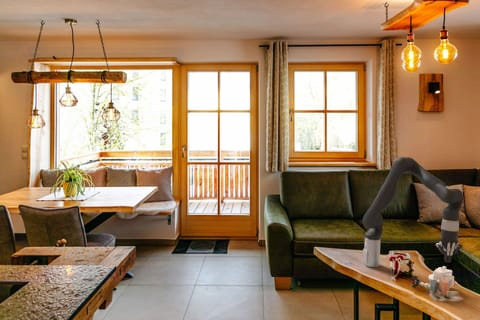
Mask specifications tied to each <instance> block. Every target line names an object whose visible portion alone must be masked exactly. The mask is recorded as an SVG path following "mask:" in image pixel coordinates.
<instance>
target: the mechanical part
mask: <svg viewBox="0 0 480 320" xmlns="http://www.w3.org/2000/svg"><path fill="white" fill-rule="evenodd" d="M428 280H429V281H430V280H436V281H438V282H439V280H447V281H448V282H449V283H450V288H449V290H450V289H452V288H453V287H454V283H455V276H454V275H453V270H452V269H447V266H444V265H443V266H442V267H441V266H440V267H439V266H438V268H435V269H434V271H433V272H432V274H429V275H428Z"/></svg>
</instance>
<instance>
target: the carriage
mask: <svg viewBox="0 0 480 320" xmlns="http://www.w3.org/2000/svg"><path fill="white" fill-rule="evenodd" d="M449 288H450V283H449V282H448V281H447V280H439V291H442V295H446V297H448V295H449V291H450V289H451V288H450V289H449Z"/></svg>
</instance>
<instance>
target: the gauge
mask: <svg viewBox="0 0 480 320" xmlns="http://www.w3.org/2000/svg"><path fill="white" fill-rule="evenodd" d="M429 284H430V289H429V291H430V290H431V293H430V292H429V293H428V296H429V297H430V298H431V299H433V300H434V301H435V302H465V301H464V298H463V297H462V296H460V295H459V293H460V292H459V291H457V290H449V295H448V297H446V295H442V291H439V282H438V281H436V280H429Z"/></svg>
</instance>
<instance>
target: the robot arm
mask: <svg viewBox="0 0 480 320" xmlns="http://www.w3.org/2000/svg"><path fill="white" fill-rule="evenodd" d="M405 174H411V175H412V176H415V177H416V178H418V179H419V181H420V182H421V183H422V185H423V186H424V187H425V188H426V189H428V190H430V191H431V192H433V193H434V194H435V195H436V197H437V198H438V199H440V201H441V202H443V203H445V204H447V206H446V207H444V208H443V209H442V218H441V219H442V221H441V226H440V227H441V231H440V240H439V242H438V243H437V242H435V247H436V248H437V249H438V250H439V252H440V253H441V254H442V255H444V258H443V259H444V262H445V263H449V264H450V263H451V262H452V258H453V257H452V256H453V255H457V253H458V252H459V251H460V250H461V248H463V244H461V243H460V242H459V240H458V239H459V232H460V231H459V229H460V223H459V220H460V211H461V209H462V206H463V202H464V194H463V192H462V190H461V189H459V188H447V184H446V183H445V182H444V181H442V180H441V179H440V178H438V177H436V176H435V175H433V174H432V173H431V172H429V171H428V170H427V169H425V168H424V167H423V166H422V165H420V164H419V163H418V162H417V161H416V160H415V159H414V158H413V157H411V156H410V157H409V156H404V157H403V156H402V157H399V156H398V157H397V158H395V160H394V161H393V163H392V165H391V167H390V171H389V173H388V174H387V176H386V179H385V181H384V183H383V184H382V186H381V187H380V190H379V191H378V193H377V195H376V197H375V198H374V200H373V202H372V204H371V206H370V207H369V208H368V209H367V211H366V213H365V214H364V215H363V217H362V224H363V226H364V227H365V228H367V229H368V230H367V231H366V232H365V234H364V248H363V249H362V264H363V265H364V267H368V268H378V267H380V262H381V260H380V257H381V256H380V255H381V239H382V238H381V237H382V234H383V230H384V229H383V228H384V218H383V216H382V214H381V213H382V212H383V211H384V210H385V209H387V208H388V207H389V206H390V205H391V204H392V203H393V202H394V201H395V198H396V196H397V194H398V185H399V184H398V183H399V181H400V179H401V178H402V175H405Z"/></svg>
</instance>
